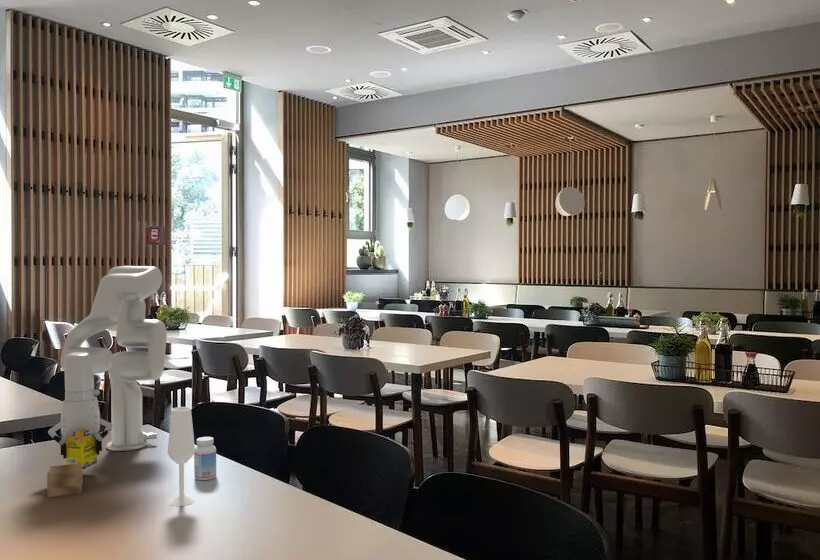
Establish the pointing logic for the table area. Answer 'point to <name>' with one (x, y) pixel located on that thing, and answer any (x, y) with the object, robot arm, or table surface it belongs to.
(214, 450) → the pill bottle
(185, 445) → the champagne flute
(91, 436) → the supplement box
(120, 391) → the robot arm
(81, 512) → the table surface
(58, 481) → the tan wooden block
